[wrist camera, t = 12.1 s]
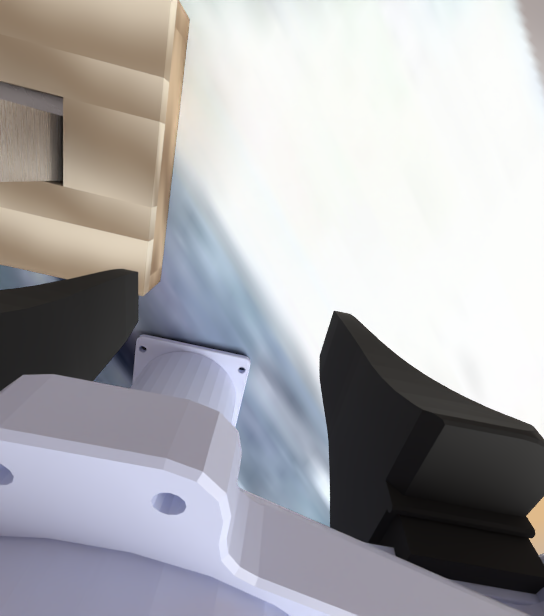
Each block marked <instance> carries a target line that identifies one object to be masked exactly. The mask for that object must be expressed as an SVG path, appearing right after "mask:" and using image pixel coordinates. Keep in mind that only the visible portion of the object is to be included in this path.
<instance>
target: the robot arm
mask: <svg viewBox="0 0 544 616" xmlns="http://www.w3.org/2000/svg"><path fill="white" fill-rule="evenodd" d="M137 322H138V272H136V271H131V270H126V269H112V270H107V271H102V272H97V273H93V274H88V275H84V276H80V277H75V278H71V279H66V280H61V281H56V282H51V283H46V284H41V285H36V286H29V287H23V288H15V289H6V290H0V616H544V554H540V555H538V554H537V552H536V550H535V549H534V547H533V545H532V543H531V542H530V540H529V538H533V537H534V536H535V530H534V528H533V526H532V525H531V523H530V522H529V520H528V518H527V517H526V515H527V514H528V513H529V512H530V511H531V510H532V509H533V508H534V507H535V505H536V504H537V503H538V502H539V501H540V500H541V499H542V498H543V497H544V439H543V437H542V436H541V435H540V434H539V433H538V431H537V430H536V429H535V428H534V427H533V426H532V425H530V424H527V423H525V422H522V421H520V420H517V419H515V418H512V417H510V416H507V415H505V414H502V413H500V412H497V411H495V410H492V409H490V408H488V407H485V406H483V405H481V404H479V403H477V402H475V401H472V400H470V399H468V398H466V397H464V396H462V395H460V394H458V393H456V392H454V391H452V390H450V389H449V388H447V387H445V386H443V385H442V384H440V383H438V382H436V381H435V380H433V379H431V378H430V377H428V376H426V375H425V374H423V373H422V372H420V371H419V370H417V369H416V368H414V367H413V366H411V365H410V364H408V363H407V362H406V361H404V360H403V359H402V358H400V357H399V356H398V355H397V354H395V353H394V352H393V351H392V350H390V349H389V348H388V347H387V346H386V345H385V344H383V343H382V342H381V341H380V340H379V339H378V338H377V337H376V336H374V335H373V334H372V333H371V332H370V331H369V330H368V329H367V328H366V327H365V326H364V325H363V324H362V323H361V322H359V321H358V320H357V319H356V318H355V317H354V316H352V315H351V314H348V313H343V312H338V311H334V312H333V315H332V318H331V322H330V325H329V328H328V331H327V334H326V338H325V341H324V344H323V347H322V350H321V354H320V384H321V391H322V398H323V404H324V411H325V417H326V424H327V431H328V440H329V465H330V527H328V526H325V525H323V524H321V523H319V522H316V521H314V520H312V519H309V518H307V517H305V516H303V515H300V514H298V513H296V512H293V511H291V510H289V509H287V508H284V507H282V506H280V505H277V504H275V503H273V502H271V501H268V500H266V499H264V498H261V497H259V496H257V495H255V494H252V493H250V492H248V491H245V490H243V489H241V488H239V486H238V484H237V480H238V474H239V468H240V462H241V456H242V450H241V443H240V437H239V431H238V430H237V429H236V428H235V426H236V422H237V418H238V413H239V409H240V405H241V401H242V397H243V393H244V389H245V385H246V381H247V377H248V372H249V368H250V363H251V361H250V359H249V358H248V357H247V356H244V355H239V354H234V353H230V352H225V351H220V350H216V349H211V348H206V347H202V346H197V345H192V344H188V343H183V342H178V341H174V340H169V339H164V338H160V337H155V336H150V335H145V334H143V335H140V336H139V337H138V338H137V340H136V349H135V360H134V371H133V383H132V386H131V387H130V388H125V387H119V386H114V385H109V384H103V383H98V382H93V380H94V379H95V378H96V377H97V376H98V374H99V373H100V372H101V371H102V370H103V368H104V367H105V366H106V365H107V364H108V363H109V361H110V360H111V359H112V358H113V357H114V355H115V354H116V353H117V352H118V351H119V349H120V348H121V347H122V346H123V345H124V343H125V342H126V341H127V339H128V337H129V336H130V334H131V333H132V331H133V329H134V327H135V326H136V324H137ZM141 346H144V347H145V348H146V350H144V349H142V348H141ZM240 367H243V368H245V370H240V369H239V368H240Z"/></svg>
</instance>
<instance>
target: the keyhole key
mask: <svg viewBox="0 0 544 616" xmlns="http://www.w3.org/2000/svg"><path fill="white" fill-rule="evenodd" d="M20 181H54V182H58V183H62V184H63V98H61V97H57V96H53V95H50V94H46V93H42V92H38V91H34V90H30V89H26V88H22V87H19V86H15V85H11V84H7V83H3V82H0V182H20Z"/></svg>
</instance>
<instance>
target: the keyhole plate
mask: <svg viewBox="0 0 544 616" xmlns="http://www.w3.org/2000/svg"><path fill="white" fill-rule="evenodd" d="M189 21H190V19H189V17H188V16H187V14H186V12H185V10H184V9H183V7H182V5H181V4H180V2H179V0H0V82H3V83H7V84H11V85H15V86H19V87H22V88H26V89H30V90H34V91H38V92H42V93H46V94H50V95H53V96H57V97H61V98H63V184H62V183H58V182H54V181H20V182H0V264H1V265H5V266H10V267H14V268H19V269H23V270H28V271H32V272H37V273H41V274H46V275H51V276H55V277H60V278H64V279H71V278H75V277H80V276H84V275H88V274H93V273H97V272H102V271H107V270H112V269H126V270H131V271H136V272H138V295H141V296H144V295H145V294H146V293H147V292H149V291H150V290H151V289H152V288H153V287H154V286H155V285H156V284H158V283H159V282H160V279H161V270H162V261H163V252H164V243H165V235H166V226H167V217H168V208H169V199H170V190H171V181H172V172H173V163H174V154H175V146H176V137H177V128H178V119H179V110H180V101H181V92H182V83H183V74H184V65H185V57H186V48H187V39H188V30H189Z"/></svg>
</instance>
